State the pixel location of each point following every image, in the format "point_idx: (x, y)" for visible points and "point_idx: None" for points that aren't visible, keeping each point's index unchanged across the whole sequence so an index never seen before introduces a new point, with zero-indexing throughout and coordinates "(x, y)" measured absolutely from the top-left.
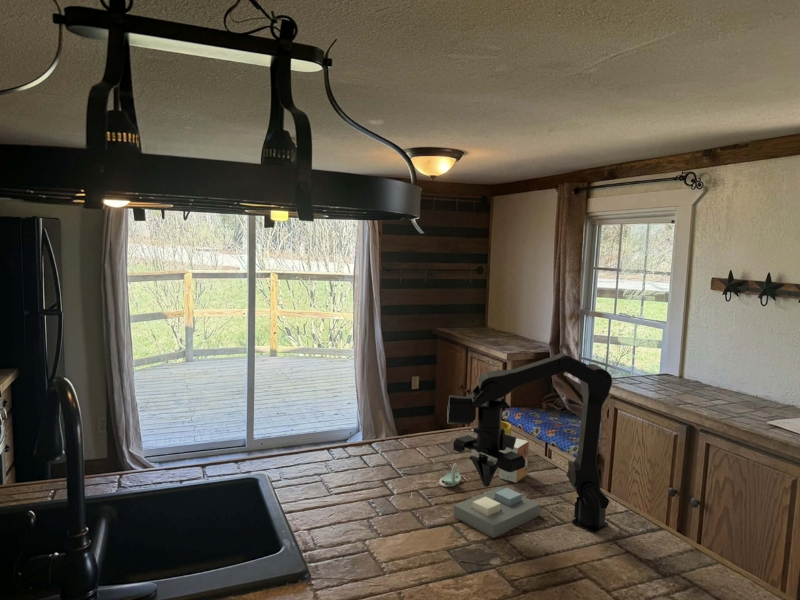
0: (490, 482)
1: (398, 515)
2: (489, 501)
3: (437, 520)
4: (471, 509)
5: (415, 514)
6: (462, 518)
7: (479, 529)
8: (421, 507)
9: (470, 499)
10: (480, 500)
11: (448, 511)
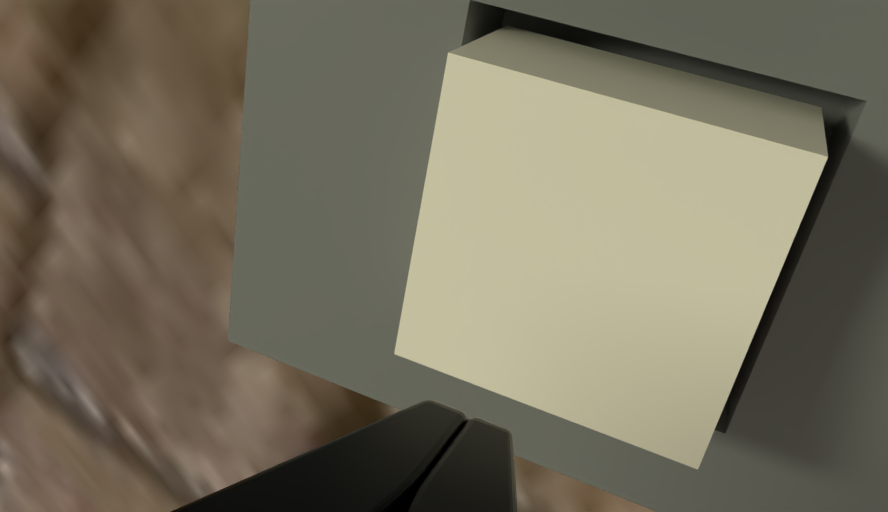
0: (515, 498)
1: (26, 477)
2: (601, 204)
3: (251, 418)
4: None
5: (79, 409)
6: None
7: None
8: (20, 277)
9: (267, 73)
10: (458, 251)
11: (206, 208)
